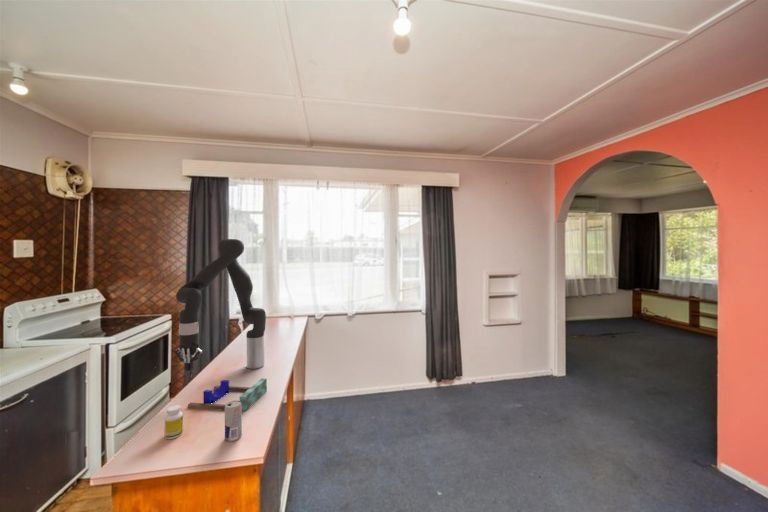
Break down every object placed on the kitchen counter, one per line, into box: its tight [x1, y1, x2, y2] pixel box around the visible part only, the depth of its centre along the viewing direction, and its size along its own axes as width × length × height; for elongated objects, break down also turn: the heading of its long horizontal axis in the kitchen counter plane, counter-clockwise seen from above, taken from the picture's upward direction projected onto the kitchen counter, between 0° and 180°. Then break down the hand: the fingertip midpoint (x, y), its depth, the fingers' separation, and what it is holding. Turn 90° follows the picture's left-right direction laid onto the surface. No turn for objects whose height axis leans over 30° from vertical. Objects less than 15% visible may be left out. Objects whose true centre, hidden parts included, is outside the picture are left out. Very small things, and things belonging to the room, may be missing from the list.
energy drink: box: [224, 400, 243, 443], centre depth 108 cm, size 5×5×12 cm
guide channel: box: [187, 378, 268, 412], centre depth 136 cm, size 18×26×6 cm
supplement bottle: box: [164, 404, 184, 440], centre depth 109 cm, size 5×5×10 cm
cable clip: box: [202, 379, 230, 404], centre depth 136 cm, size 12×4×6 cm, turn 169°
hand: (188, 370), depth 137 cm, fingers closed
